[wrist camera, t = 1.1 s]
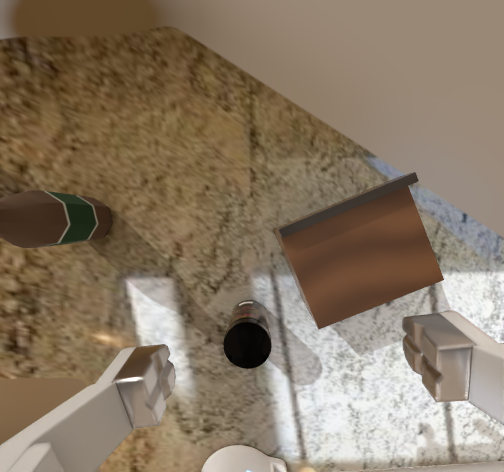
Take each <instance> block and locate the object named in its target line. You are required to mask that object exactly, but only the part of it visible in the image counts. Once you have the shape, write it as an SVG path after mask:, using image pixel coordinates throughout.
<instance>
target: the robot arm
mask: <svg viewBox="0 0 504 472" xmlns="http://www.w3.org/2000/svg"><path fill="white" fill-rule="evenodd" d="M402 328H403V330H404V331H405V332H406V333H407V335H406V336H405V337H404V339H403V350H404V354H405V357H406V360H407V362H408V363H409V365H410V367H411V368H412V369H413V371H415V372H416V373H418V374H420V375H422V383H423V385H424V386H425V387H426V389H427V390H428V392H429V393H430V394H431V396H432V397H433V398H434V400H435V401H436V402H450V401H468V400H469V403H471V404H472V405H474V406H475V407H477V408H478V409H480V410H481V411H483V412H485V413H486V414H488V415H489V416H491V417H492V418H494V419H495V420H497V421H498V422H500V423H501V424H503V425H504V343H498V342H496V341H495V340H494V339H492V338H491V337H490V336H488V335H487V334H486V333H484V332H483V331H482V330H480V329H479V328H478V327H476V326H475V325H474V324H472V323H471V322H470V321H469V320H467V319H466V318H465V317H463V316H462V315H461V314H459V313H458V312H455V311H446V312H439V313H436V314H428V315H420V316H411V317H404V319H403V322H402ZM169 355H170V352H169V349H168V346H167V345H165V344H161V345H150V346H139V347H130V348H125V349H123V350H121V351H120V353H119V354H118V355H117V357H116V358H115V359H114V360H113V362H112V363H111V364H110V366H109V367H108V368H107V369H106V371H105V372H104V373H103V375H102V376H101V377H100V379H99V380H98V381H97V382H96V384H93V385H89V386H88V387H86V388H85V389H84V390H82V391H81V392H79V393H78V394H76V395H75V396H73V397H72V398H70V399H69V400H67V401H66V402H64V403H63V404H61V405H60V406H58V407H57V408H55V409H54V410H52V411H51V412H49V413H48V414H46V415H45V416H43V417H42V418H40V419H39V420H37V421H36V422H34V423H33V424H31V425H30V426H28V427H27V428H25V429H24V430H22V431H21V432H19V433H18V434H16V435H15V436H14V437H12V438H10V439H9V440H7V441H6V442H4V443H3V444H1V445H0V472H95V471H96V470H97V468H99V467H100V465H101V464H102V463H103V462H104V461H105V460H106V459H107V458H108V457H109V456H110V455H111V453H112V452H113V451H114V450H115V449H116V448H117V447H118V446H119V445H120V444H121V443H122V441H123V440H124V439H125V438H126V437H127V436H128V435H129V434H130V433H131V432H132V431H133V428H142V427H150V426H159V423H160V421H161V419H162V416H163V414H164V411H165V409H166V402H165V400H166V399H167V398H168V397H169V396H170V395H171V394H172V391H173V389H174V386H175V378H176V375H175V368H174V365H173V363H171V362H170V361H169V360H168V358H169ZM202 472H287V467H286V463H285V462H284V461H283V460H282V459H279V458H274V457H269V456H267V455H265V454H263V453H262V452H260V451H259V450H257V449H255V448H252V447H249V446H244V445H232V446H227V447H224V448H222V449H220V450H218V451H216V452H215V453H213V454H212V455H211V456H210V457H209V458H208V460H207V461H206V462H205V464H204V466H203V468H202ZM339 472H504V461H498V462H482V463H466V464H450V465H434V466H419V467H403V468H387V469H371V470H355V471H339Z"/></svg>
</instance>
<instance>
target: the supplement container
mask: <svg viewBox="0 0 504 472" xmlns="http://www.w3.org/2000/svg"><path fill="white" fill-rule="evenodd" d="M224 352H225V354H226V356H227V358H228V359H229V360H230V362H232V363H233V364H234V365H236V366H238V367H241V368H246V369H250V368H255V367H258V366H260V365H261V364H263V363H264V362H265V361H266V360H267V358H268V357H269V355H270V352H271V335H270V329H269V320H268V314H267V311H266V309H265V308H264V307H263V306H262V305H261V304H260V303H258V302H256V301H252V300H247V301H243V302H241V303H239V304H238V305H236V306H235V308H234V309H233V311H232V314H231V318H230V321H229V325H228V328H227V331H226V334H225V339H224Z"/></svg>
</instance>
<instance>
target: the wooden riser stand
mask: <svg viewBox="0 0 504 472" xmlns="http://www.w3.org/2000/svg"><path fill="white" fill-rule="evenodd" d="M416 182H418V178H417V175H416V173H415V172H414V173H411V174H407V175H404V176H401V177H398V178H395V179H393V180H390V181H388V182H386V183H383V184H381V185H378V186H376V187H374V188H371V189H368V190H366V191H364V192H361V193H359V194H357V195H355V196H352V197H350V198H347V199H345V200H343V201H340V202H338V203H335V204H333V205H331V206H328V207H326V208H323V209H321V210H319V211H316V212H314V213H311V214H309V215H307V216H304V217H302V218H299V219H297V220H295V221H292V222H290V223H288V224H285V225H283V226H280V227H277V228H275V229H273V230H274V232H275V234H276V237H277V239H278V242H279V244H280V246H281V249H282V251H283V254H284V256H285V258H286V261H287V263H288V266H289V268H290V270H291V273H292V275H293V278H294V280H295V283H296V285H297V287H298V290H299V292H300V295H301V297H302V299H303V302H304V303H305V305H306V307H307V309H308V310H309V312H310V314H311V316H312V317H313V319H314V321H315V323H316V325H317V327H318V329H321V328H324V327H326V326H329V325H331V324H334V323H336V322H339V321H341V320H344V319H346V318H349V317H351V316H354V315H356V314H359V313H361V312H364V311H367V310H369V309H372V308H374V307H377V306H379V305H382V304H384V303H387V302H389V301H392V300H394V299H397V298H399V297H402V296H404V295H407V294H409V293H412V292H414V291H417V290H420V289H422V288H425V287H427V286H430V285H432V284H435V283H437V282H440V281H442V280H444V278H443V276H442V273H441V271H440V268H439V265H438V263H437V260H436V258H435V255H434V252H433V250H432V247H431V245H430V242H429V239H428V237H427V234H426V232H425V229H424V226H423V224H422V221H421V219H420V216H419V213H418V211H417V208H416V206H415V203H414V200H413V198H412V195H411V193H410V190H409V187H408V185H411V184H413V183H416Z"/></svg>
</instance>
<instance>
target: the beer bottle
mask: <svg viewBox="0 0 504 472" xmlns="http://www.w3.org/2000/svg"><path fill="white" fill-rule="evenodd" d="M111 225H112V219H111V215H110V211H109V208H108V207H107V206H105V205H104V204H102V203H101V202H99V201H97V200H96V199H94V198H90V197H84V196H77V195H70V194H63V193H55V192H48V191H35V190H31V191H27V192H22V193H18V194H14V195H9V196H6V197H2V198H0V238H3V239H5V240H6V241H8V242H9V243H11V244H13V245H15V246H19V247H22V248H38V247H46V246H54V245H62V244H70V243H79V242H85V241H89V240H94V239H98V238H103V237H105V235H106V233H107V232H108V230H109V228H110V227H111Z"/></svg>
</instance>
